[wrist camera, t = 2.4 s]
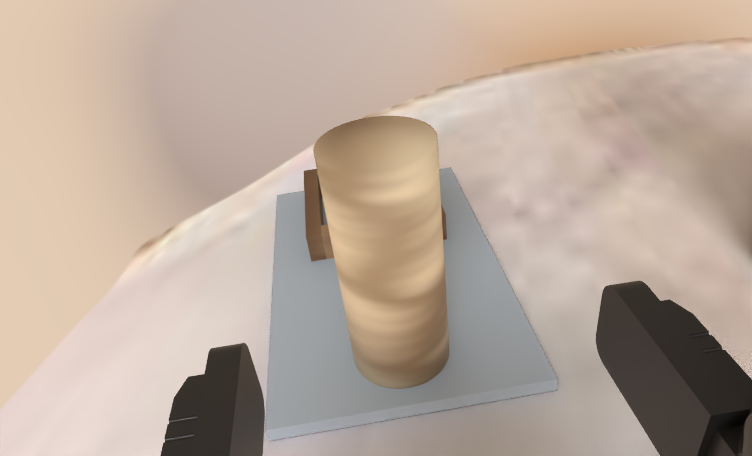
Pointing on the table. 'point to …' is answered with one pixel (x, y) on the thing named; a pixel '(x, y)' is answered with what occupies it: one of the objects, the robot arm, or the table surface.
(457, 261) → the board
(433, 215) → the maple pillar
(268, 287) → the table surface
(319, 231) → the socket collar
